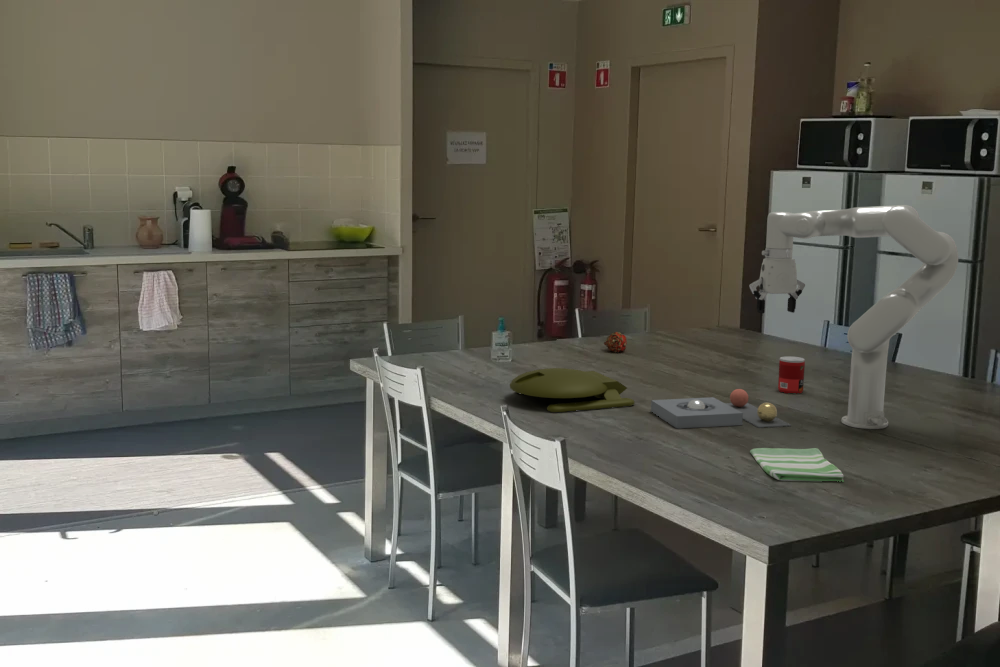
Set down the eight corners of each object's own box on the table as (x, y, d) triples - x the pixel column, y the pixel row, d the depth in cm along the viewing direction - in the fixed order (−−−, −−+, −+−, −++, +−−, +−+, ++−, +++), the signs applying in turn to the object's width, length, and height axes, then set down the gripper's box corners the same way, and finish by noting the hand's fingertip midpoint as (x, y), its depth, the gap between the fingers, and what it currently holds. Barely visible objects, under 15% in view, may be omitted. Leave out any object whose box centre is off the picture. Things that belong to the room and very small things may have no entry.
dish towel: (819, 455, 261) (820, 445, 261) (846, 484, 238) (847, 473, 238) (749, 454, 262) (750, 444, 261) (770, 483, 239) (770, 471, 238)
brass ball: (780, 423, 290) (781, 404, 289) (762, 424, 289) (763, 405, 288) (770, 418, 296) (771, 400, 295) (753, 419, 294) (754, 400, 293)
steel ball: (708, 419, 295) (709, 401, 294) (690, 420, 294) (691, 402, 293) (700, 415, 300) (701, 397, 300) (683, 416, 299) (683, 398, 298)
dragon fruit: (616, 358, 395) (611, 357, 407) (634, 345, 395) (628, 344, 407) (603, 340, 395) (599, 340, 407) (621, 327, 395) (616, 327, 407)
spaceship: (593, 387, 340) (593, 358, 338) (637, 407, 311) (638, 376, 310) (495, 394, 327) (495, 364, 326) (532, 417, 299) (532, 384, 297)
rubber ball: (751, 408, 308) (752, 390, 307) (734, 409, 306) (735, 391, 305) (743, 404, 313) (743, 386, 312) (726, 405, 312) (727, 387, 311)
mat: (791, 426, 289) (791, 424, 289) (758, 427, 286) (758, 426, 286) (746, 403, 316) (746, 402, 316) (716, 405, 313) (716, 403, 313)
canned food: (804, 394, 328) (806, 361, 327) (778, 393, 330) (780, 360, 328) (802, 389, 336) (804, 356, 334) (777, 388, 337) (778, 355, 336)
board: (742, 424, 290) (742, 413, 289) (676, 428, 285) (677, 416, 285) (712, 408, 309) (713, 397, 308) (650, 411, 305) (651, 400, 304)
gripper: (757, 255, 291) (754, 315, 294) (812, 255, 295) (809, 313, 298) (745, 253, 298) (743, 311, 301) (799, 252, 302) (796, 309, 305)
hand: (775, 312), depth 299 cm, fingers open, 9 cm apart
